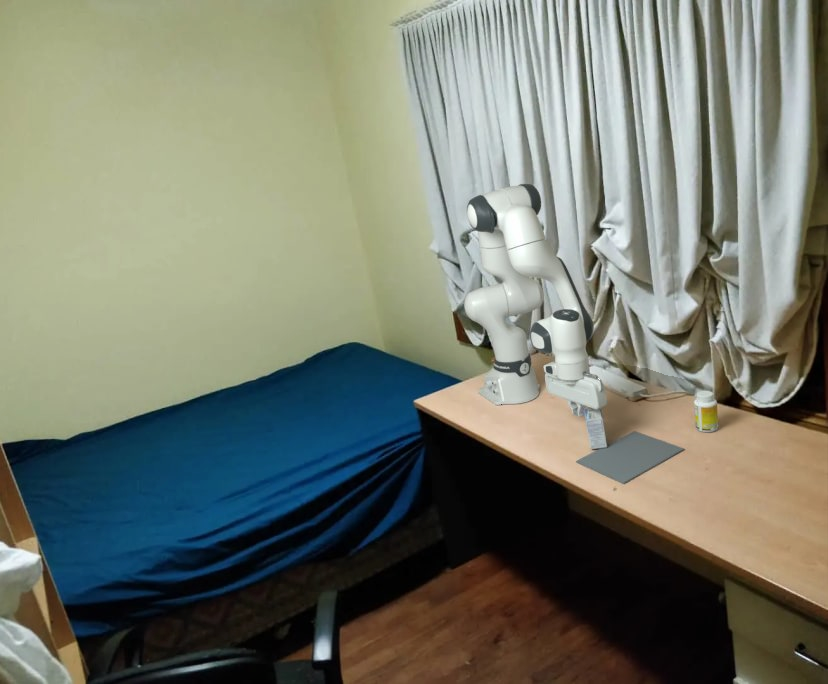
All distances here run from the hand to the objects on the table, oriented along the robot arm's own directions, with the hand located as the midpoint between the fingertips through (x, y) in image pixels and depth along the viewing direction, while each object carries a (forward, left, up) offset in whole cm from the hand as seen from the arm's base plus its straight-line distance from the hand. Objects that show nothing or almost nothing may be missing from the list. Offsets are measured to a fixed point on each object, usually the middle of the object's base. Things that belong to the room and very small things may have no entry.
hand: (578, 415), depth 176 cm
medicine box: (+6, 0, -7) cm, 9 cm away
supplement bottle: (+22, +24, -7) cm, 34 cm away
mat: (+17, 0, -7) cm, 19 cm away
